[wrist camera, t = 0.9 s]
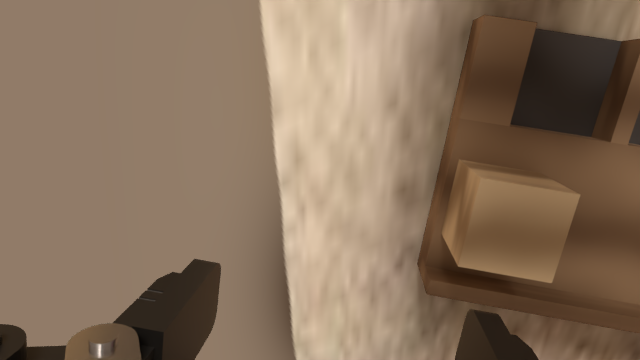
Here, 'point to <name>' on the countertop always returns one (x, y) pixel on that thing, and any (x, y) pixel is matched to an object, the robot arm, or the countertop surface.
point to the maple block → (507, 220)
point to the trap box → (550, 166)
